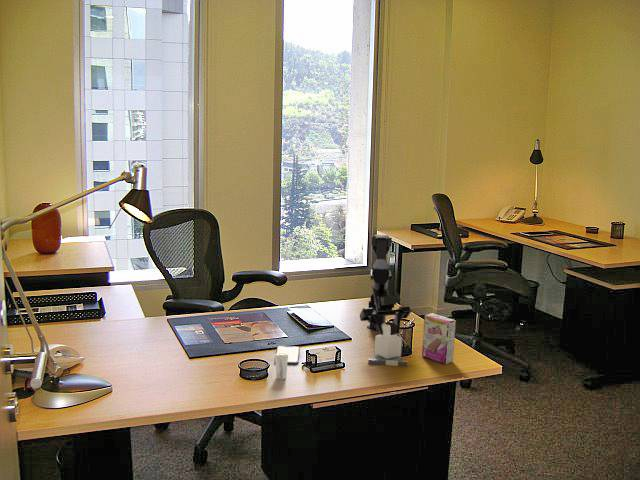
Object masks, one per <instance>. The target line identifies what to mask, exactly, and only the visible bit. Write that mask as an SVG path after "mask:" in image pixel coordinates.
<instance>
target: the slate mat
mask: <svg viewBox="0 0 640 480" xmlns="http://www.w3.org/2000/svg"><path fill="white" fill-rule="evenodd" d="M401 356H402V354H401V355H400V356H397V357H393V358H389V359H388V360H401V358H402V357H401ZM374 359H386V358H384V357H382V356H379V355H377V354H375V353H374Z"/></svg>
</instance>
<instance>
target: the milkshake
mask: <svg viewBox="0 0 640 480" xmlns="http://www.w3.org/2000/svg"><path fill="white" fill-rule="evenodd" d="M272 353H273V355H274V362H275V363H276V364H275V363H274V364H275V377H276V379H277V380H279V381H280V380H281V381H283V380H285V379H286V378H287V371H288V365H287V362H288V354H287V353H285V352H282V351H280V352H278V353H276V352H274V351H273V352H272Z"/></svg>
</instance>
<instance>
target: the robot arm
mask: <svg viewBox="0 0 640 480" xmlns="http://www.w3.org/2000/svg"><path fill="white" fill-rule="evenodd" d="M392 238H393V237H390V235H387V234H386V235H385V234H374V236H371V244H370V245H371V247H372V251H373V252H374V254H375V261H374V263H373V264H372V269H370V280H371V281H372V285H371V291H372V294H371V295H370V300H368V307H363V308H362V310H361V312H360V313H359V319H360V321H361V322H366V321H367V323H369V325H367V326H366V327H367V328H368V329H371V330H374V331H377V332H378V333H379V335H380V334H381V335H382V334H383V331H382V327H381V325H382V324H383V323H386V316H387V317H389V316H393V317H394V318H393V323H394V324H396V325H397V335H398V334H399V333H400V327H401V321H402V319H407V318H408V317H409V316H410V314H411V313H412V309H411V307H410V306H409V305H399V307H398V308H397V309H394V308H395V305H397V303H398V304H399V303H401V295H400V293H394V294H393V295H391V294H389V290H388V286H389V281H391V280H392V279H393V273H392V271H391V270H390V265H389V263H388V262H387V255H388V254H389V252H390V250H391V249H390V248H391V247H392V241H393V240H392Z"/></svg>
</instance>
